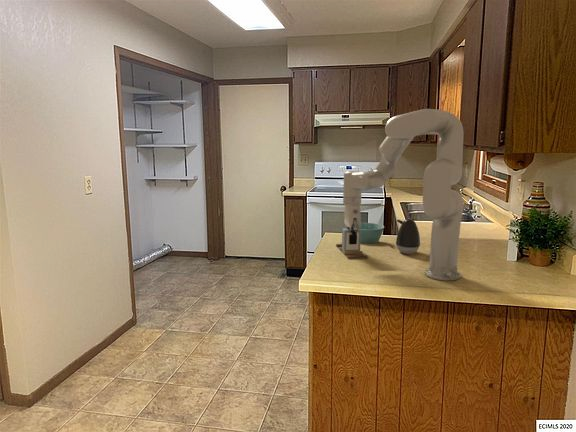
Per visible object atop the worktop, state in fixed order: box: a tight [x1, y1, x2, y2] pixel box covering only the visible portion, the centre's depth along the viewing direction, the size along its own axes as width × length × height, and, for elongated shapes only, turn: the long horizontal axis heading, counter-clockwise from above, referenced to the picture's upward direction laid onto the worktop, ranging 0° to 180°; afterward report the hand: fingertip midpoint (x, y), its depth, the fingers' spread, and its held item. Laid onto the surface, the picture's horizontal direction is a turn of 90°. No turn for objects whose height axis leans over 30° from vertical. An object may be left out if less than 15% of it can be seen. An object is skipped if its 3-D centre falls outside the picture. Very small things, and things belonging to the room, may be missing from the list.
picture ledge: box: [335, 243, 368, 260], centre depth 180 cm, size 20×8×2 cm, turn 7°
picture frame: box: [341, 227, 361, 253], centre depth 179 cm, size 4×7×10 cm, turn 97°
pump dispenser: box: [395, 218, 421, 255], centre depth 183 cm, size 10×10×15 cm
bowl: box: [353, 222, 385, 245], centre depth 202 cm, size 16×16×8 cm
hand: (351, 242), depth 179 cm, fingers open, 4 cm apart
